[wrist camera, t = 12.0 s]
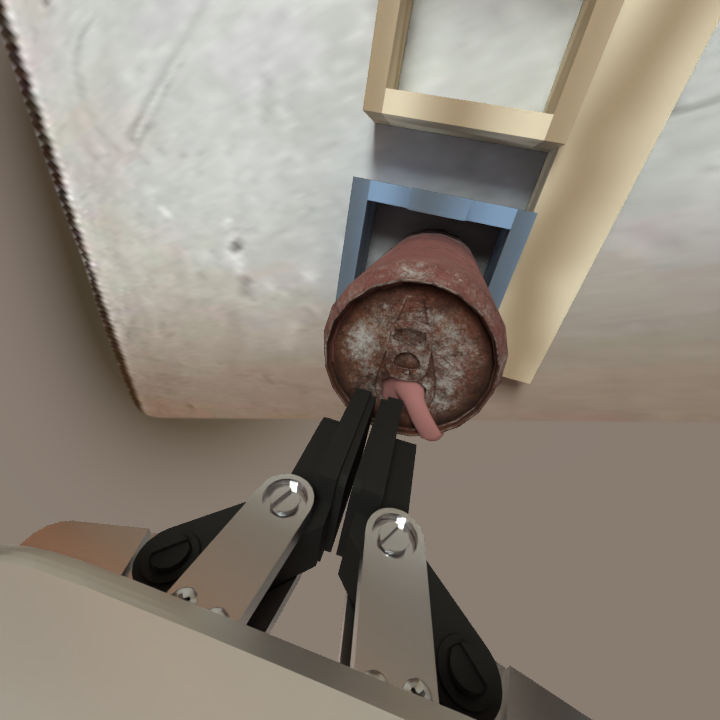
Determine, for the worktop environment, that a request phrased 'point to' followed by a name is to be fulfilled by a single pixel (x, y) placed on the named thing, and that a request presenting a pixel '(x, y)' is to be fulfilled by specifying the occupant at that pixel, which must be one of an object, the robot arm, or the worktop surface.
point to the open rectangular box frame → (548, 134)
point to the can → (419, 334)
